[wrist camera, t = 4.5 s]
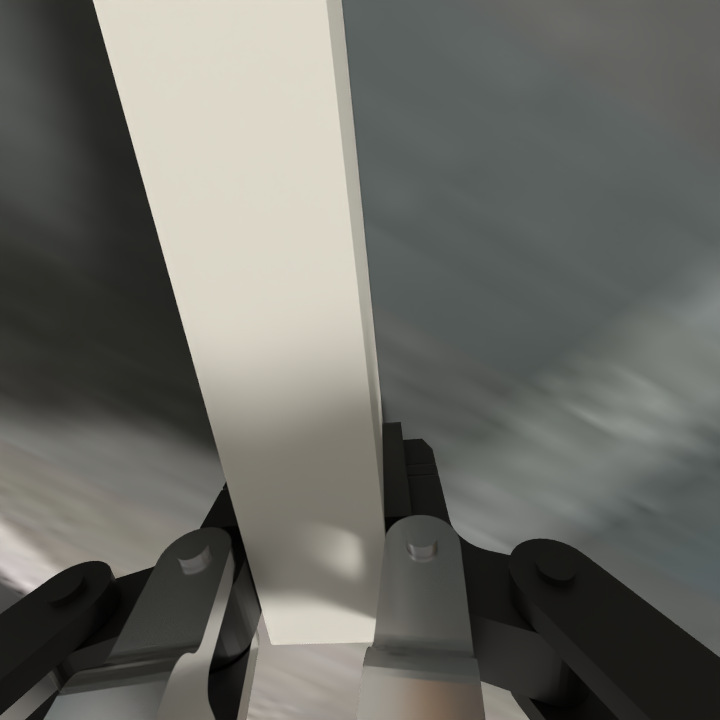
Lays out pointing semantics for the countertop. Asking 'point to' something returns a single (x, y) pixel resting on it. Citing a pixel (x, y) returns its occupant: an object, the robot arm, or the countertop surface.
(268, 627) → the plug
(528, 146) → the countertop surface
